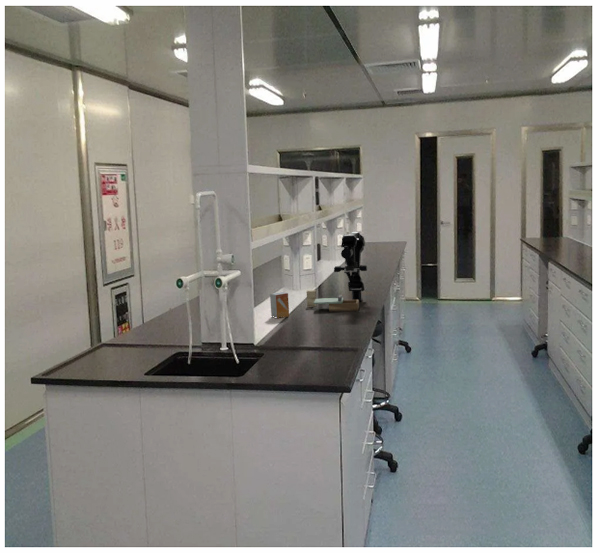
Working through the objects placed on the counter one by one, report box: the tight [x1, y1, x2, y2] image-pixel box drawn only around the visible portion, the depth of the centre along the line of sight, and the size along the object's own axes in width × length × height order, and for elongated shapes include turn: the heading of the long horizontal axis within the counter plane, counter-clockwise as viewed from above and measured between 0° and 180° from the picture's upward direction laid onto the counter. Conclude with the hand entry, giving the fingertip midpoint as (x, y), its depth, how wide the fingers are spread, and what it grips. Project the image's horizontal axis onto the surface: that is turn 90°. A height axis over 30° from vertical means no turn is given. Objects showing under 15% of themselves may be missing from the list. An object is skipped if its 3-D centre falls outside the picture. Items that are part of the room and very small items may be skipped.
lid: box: [314, 294, 345, 305], centre depth 337 cm, size 12×16×3 cm
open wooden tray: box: [328, 299, 360, 312], centre depth 336 cm, size 12×16×4 cm
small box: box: [269, 291, 290, 319], centre depth 325 cm, size 8×6×13 cm
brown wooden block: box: [306, 289, 318, 308], centre depth 350 cm, size 4×5×9 cm
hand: (351, 283), depth 343 cm, fingers closed
